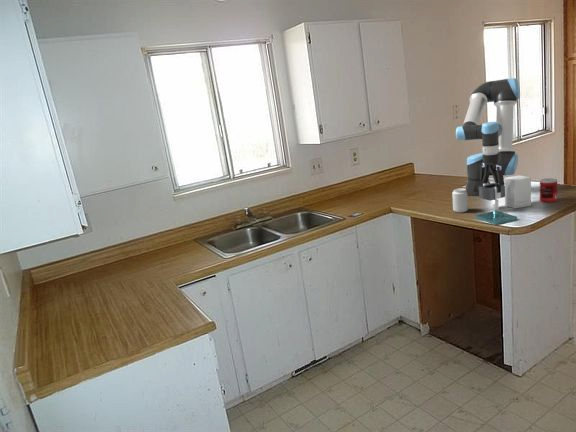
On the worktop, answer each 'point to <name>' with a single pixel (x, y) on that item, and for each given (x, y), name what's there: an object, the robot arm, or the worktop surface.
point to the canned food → (548, 190)
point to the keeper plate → (495, 219)
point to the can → (460, 200)
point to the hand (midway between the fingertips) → (492, 196)
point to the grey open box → (490, 191)
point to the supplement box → (517, 191)
